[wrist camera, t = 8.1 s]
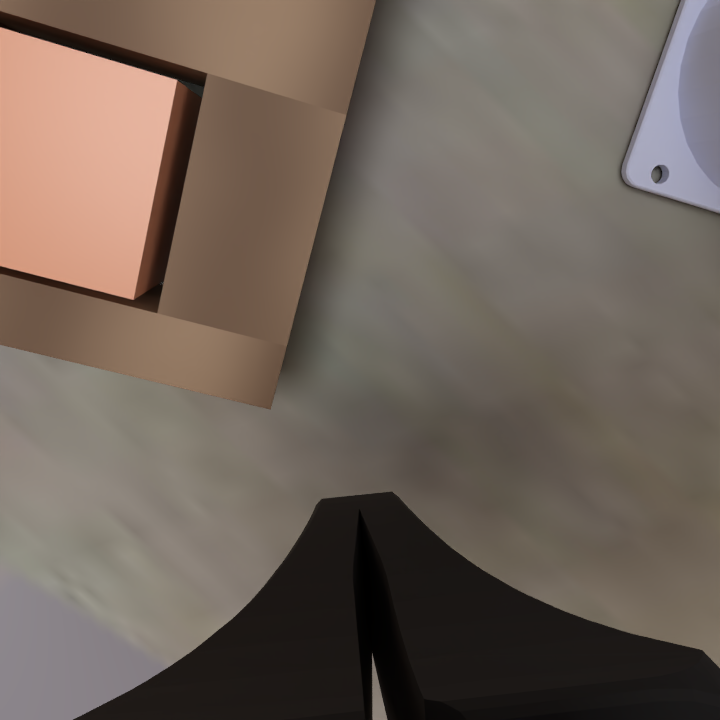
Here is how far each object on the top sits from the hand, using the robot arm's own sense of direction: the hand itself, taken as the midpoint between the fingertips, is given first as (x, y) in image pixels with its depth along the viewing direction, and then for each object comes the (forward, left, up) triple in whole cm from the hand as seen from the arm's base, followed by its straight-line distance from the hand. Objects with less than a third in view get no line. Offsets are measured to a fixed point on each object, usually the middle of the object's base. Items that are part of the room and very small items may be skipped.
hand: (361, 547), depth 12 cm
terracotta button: (+8, -4, -8) cm, 12 cm away
